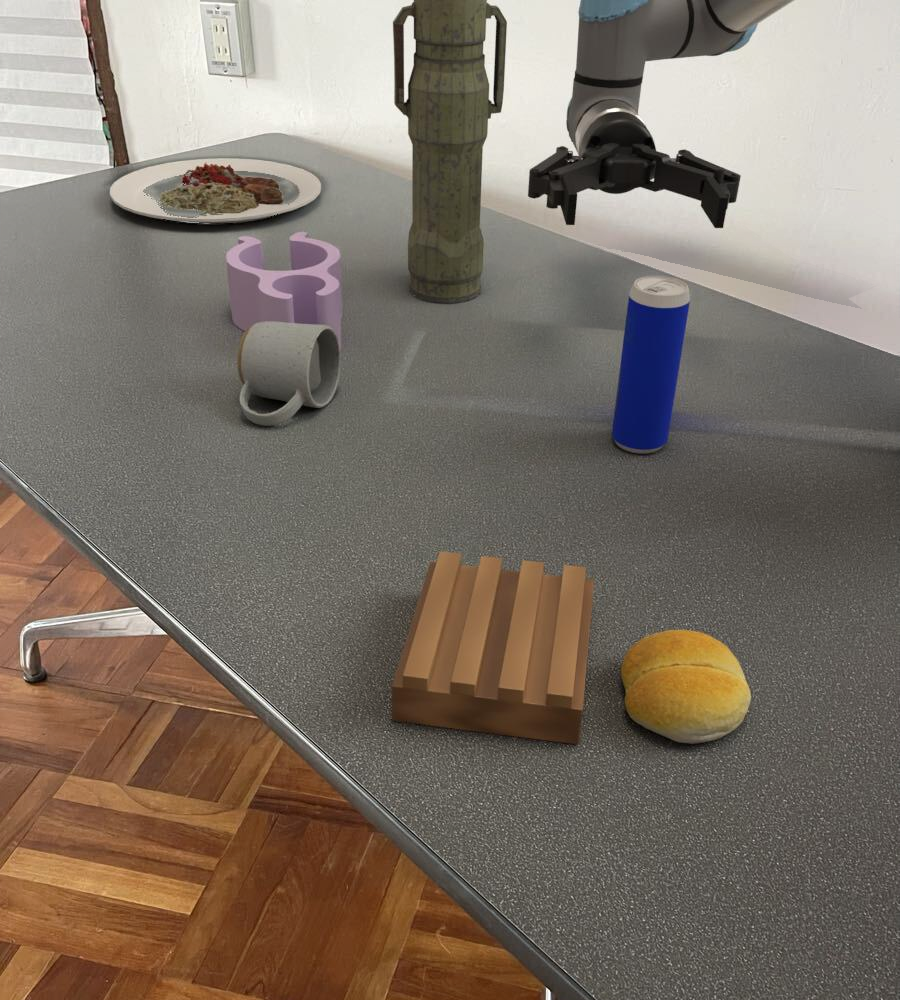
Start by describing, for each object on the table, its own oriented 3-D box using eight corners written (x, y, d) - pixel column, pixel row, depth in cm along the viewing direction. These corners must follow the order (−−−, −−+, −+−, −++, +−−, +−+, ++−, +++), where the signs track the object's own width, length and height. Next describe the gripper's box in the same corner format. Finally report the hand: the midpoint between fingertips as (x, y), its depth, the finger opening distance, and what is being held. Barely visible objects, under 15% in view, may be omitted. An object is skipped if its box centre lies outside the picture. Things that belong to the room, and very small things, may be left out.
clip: (367, 354, 114) (365, 291, 110) (250, 367, 111) (243, 302, 107) (327, 287, 129) (325, 229, 125) (223, 296, 126) (217, 238, 122)
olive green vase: (389, 280, 132) (384, -52, 111) (482, 273, 134) (495, -52, 113) (403, 307, 125) (402, -41, 104) (501, 300, 127) (518, -42, 106)
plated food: (182, 248, 139) (179, 222, 137) (74, 194, 157) (69, 170, 154) (363, 205, 156) (362, 180, 154) (247, 160, 173) (245, 138, 171)
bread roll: (628, 747, 68) (636, 700, 65) (615, 656, 75) (622, 611, 72) (759, 752, 68) (772, 705, 65) (734, 660, 75) (744, 615, 72)
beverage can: (636, 424, 103) (658, 270, 94) (678, 444, 100) (704, 287, 91) (599, 439, 100) (617, 283, 91) (641, 461, 97) (664, 301, 88)
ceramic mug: (269, 375, 109) (262, 302, 105) (344, 387, 108) (340, 314, 103) (220, 422, 101) (211, 346, 97) (300, 436, 100) (294, 360, 95)
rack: (590, 612, 79) (596, 567, 76) (578, 745, 68) (584, 697, 65) (429, 594, 80) (430, 549, 78) (392, 721, 69) (391, 674, 67)
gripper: (725, 187, 116) (775, 255, 99) (495, 181, 116) (506, 250, 99) (738, 112, 112) (792, 171, 95) (499, 107, 111) (511, 165, 94)
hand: (646, 211), depth 97 cm, fingers open, 13 cm apart
